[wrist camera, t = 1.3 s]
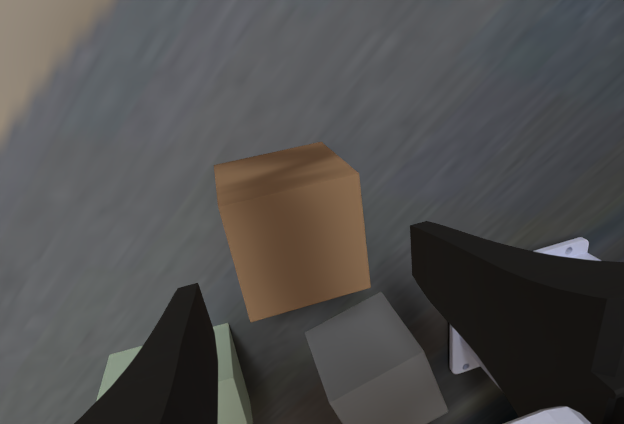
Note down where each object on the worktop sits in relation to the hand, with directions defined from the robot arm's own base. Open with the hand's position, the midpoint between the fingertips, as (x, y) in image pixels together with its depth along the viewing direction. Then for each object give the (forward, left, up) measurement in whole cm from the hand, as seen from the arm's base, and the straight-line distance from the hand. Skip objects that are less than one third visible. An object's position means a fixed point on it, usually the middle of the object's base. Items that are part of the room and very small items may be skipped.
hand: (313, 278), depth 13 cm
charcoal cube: (-3, +10, -7) cm, 13 cm away
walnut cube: (0, 0, -7) cm, 7 cm away
